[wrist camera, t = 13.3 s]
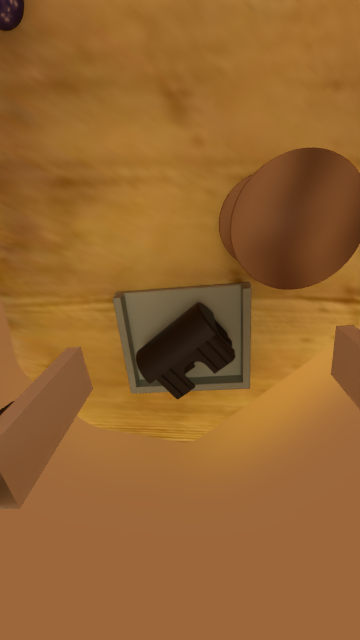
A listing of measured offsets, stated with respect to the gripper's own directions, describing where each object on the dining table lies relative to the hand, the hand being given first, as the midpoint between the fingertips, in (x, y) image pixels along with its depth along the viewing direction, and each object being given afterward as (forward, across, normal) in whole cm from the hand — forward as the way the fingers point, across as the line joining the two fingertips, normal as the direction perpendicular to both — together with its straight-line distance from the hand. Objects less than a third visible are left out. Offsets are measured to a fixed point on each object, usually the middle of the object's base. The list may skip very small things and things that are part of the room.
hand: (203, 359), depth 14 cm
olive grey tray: (+20, -3, -8) cm, 22 cm away
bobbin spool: (+21, +8, +5) cm, 23 cm away
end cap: (+20, -3, -8) cm, 21 cm away
